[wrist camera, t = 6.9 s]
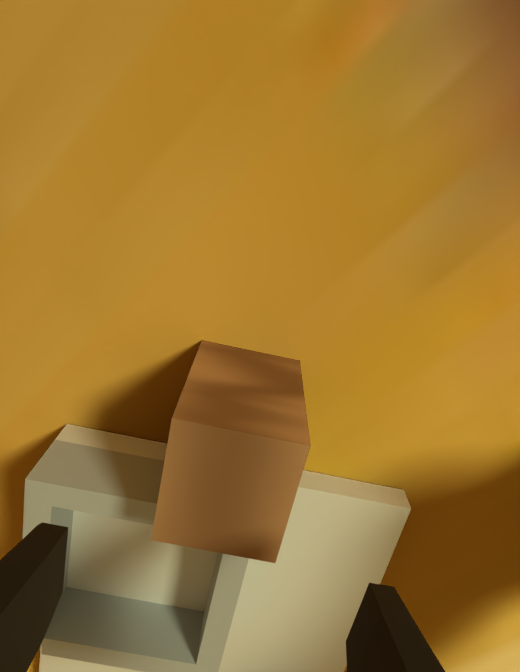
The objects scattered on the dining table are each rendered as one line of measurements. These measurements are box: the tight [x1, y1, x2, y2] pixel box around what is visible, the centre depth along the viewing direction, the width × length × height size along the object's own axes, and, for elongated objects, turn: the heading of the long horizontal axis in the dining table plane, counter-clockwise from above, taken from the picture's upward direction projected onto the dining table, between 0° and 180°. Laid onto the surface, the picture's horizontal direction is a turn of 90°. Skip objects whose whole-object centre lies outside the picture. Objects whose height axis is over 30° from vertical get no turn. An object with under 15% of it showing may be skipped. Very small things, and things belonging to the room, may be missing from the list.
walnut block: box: [151, 340, 310, 563], centre depth 17 cm, size 4×4×6 cm
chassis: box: [22, 424, 411, 672], centre depth 21 cm, size 15×17×5 cm
